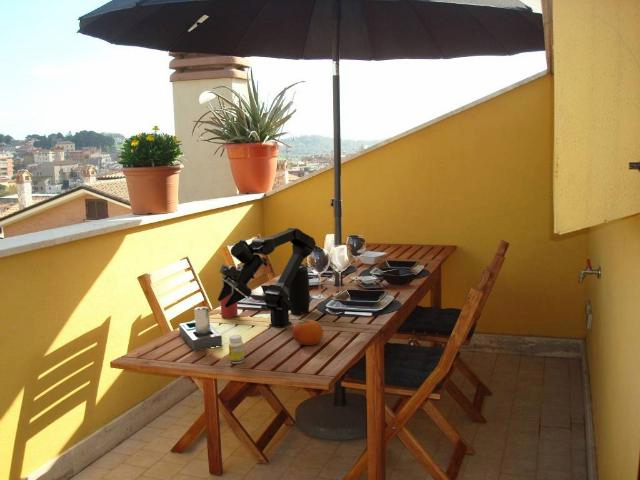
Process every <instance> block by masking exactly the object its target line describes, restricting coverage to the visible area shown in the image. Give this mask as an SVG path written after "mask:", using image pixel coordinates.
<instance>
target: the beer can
mask: <svg viewBox="0 0 640 480" xmlns="http://www.w3.org/2000/svg"><path fill="white" fill-rule="evenodd" d="M233 288H235V287H233ZM235 289H236V288H235ZM221 290H222V287H221V288H220V292H221ZM220 292H219V293H220ZM230 295H231V294H230ZM230 295H228V296H227V297H225V298H224V299H223V300H221V301H219V303H220V312H221V313H220V315H221V317H222V318H224V319H232V318H235V317H237V316H238V314H239V313H238V302H236V303H234V304H233V305H231V306H229V307H225V304H226V302H227V300H228V298H229V297H230Z"/></svg>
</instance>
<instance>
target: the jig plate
mask: <svg viewBox="0 0 640 480" xmlns="http://www.w3.org/2000/svg"><path fill="white" fill-rule="evenodd" d="M178 326H179V327H178V329H179V335H180V336H181V338H182V339H183V340H184V341H185V343H187V345H188V344H189V345H190V346H191V347H192V348H191V347H190V346H189V347H190V348H191V350H192V351H193V350H199V351H202V350H201V349H204V350H207V349H206V348H210V349H212V348H211V347H215V348H217V347H216V346H221V347H223V339H222V334H221V333H220V332H219V331H218V330H217V329H216V328H215V327H214V326H212V325H211V324H210V334H211V335H207V336H201V337H196V327H195V320H194V321H188V322H181V323H179V324H178Z"/></svg>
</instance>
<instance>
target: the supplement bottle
mask: <svg viewBox="0 0 640 480" xmlns="http://www.w3.org/2000/svg"><path fill="white" fill-rule="evenodd" d="M228 341H229V343H228V355H229V362H230V363H231V362H232V363H231V364H241V363H244V362H245V348H244V341H243V337H242V335H241V334H231V335H229V337H228Z"/></svg>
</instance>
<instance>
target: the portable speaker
mask: <svg viewBox="0 0 640 480" xmlns="http://www.w3.org/2000/svg"><path fill="white" fill-rule="evenodd" d="M288 292H289V297H288V300H289V301H290V302H291V303H292V309H291V310H290V311H289V312H290V313H291V314H292V315H294V316H300V315H301V314H302V313H303V314H304V313H306V314H309V313H310V301H311V300H310V299H311V297H310V278H309V271H308V267H307V266H306V265H305V264H303V263H302V264H301V266H300V267H299V269H298V271H297V273H296V275H295V277H294V279H293V281H292V283H291V285H290V287H289V289H288Z"/></svg>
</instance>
